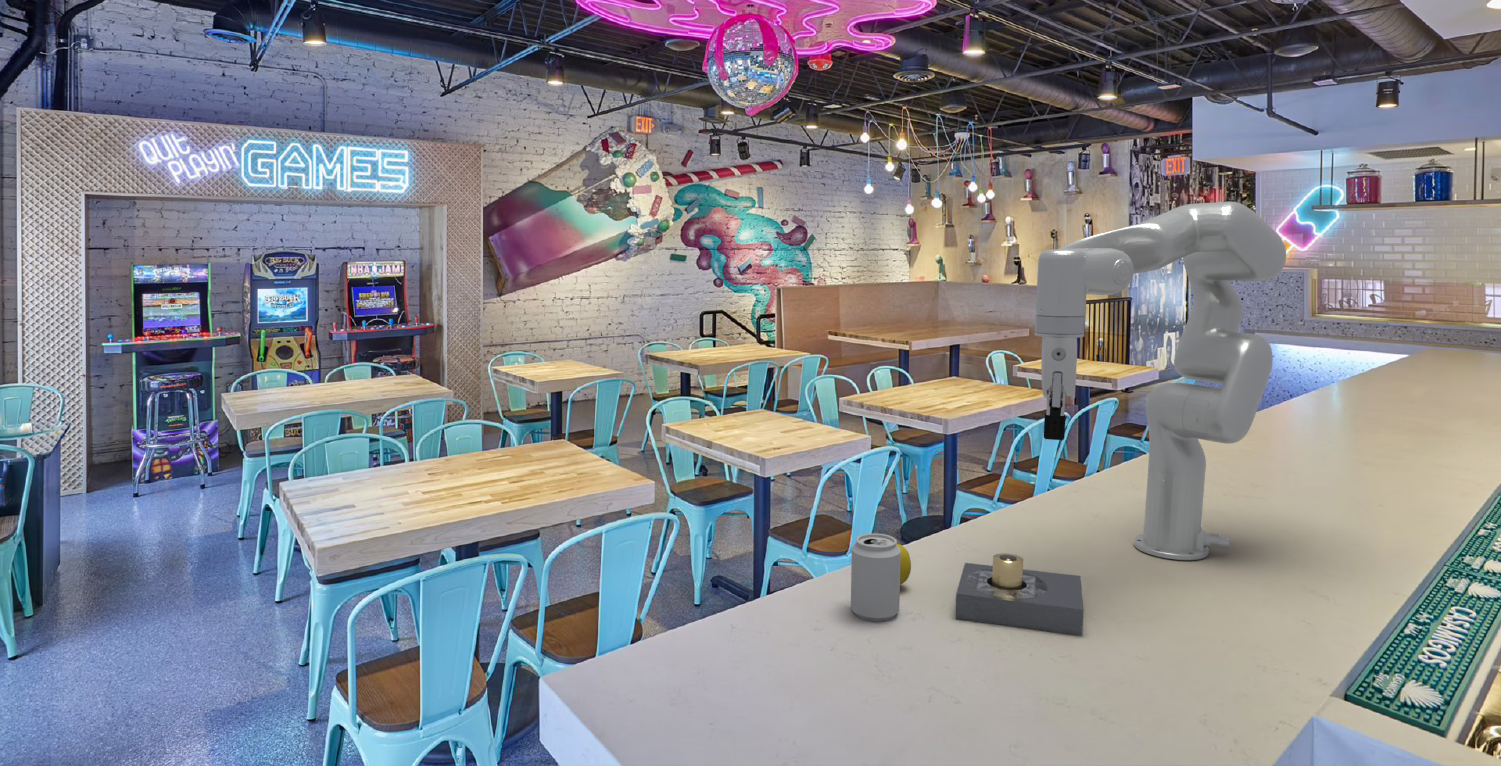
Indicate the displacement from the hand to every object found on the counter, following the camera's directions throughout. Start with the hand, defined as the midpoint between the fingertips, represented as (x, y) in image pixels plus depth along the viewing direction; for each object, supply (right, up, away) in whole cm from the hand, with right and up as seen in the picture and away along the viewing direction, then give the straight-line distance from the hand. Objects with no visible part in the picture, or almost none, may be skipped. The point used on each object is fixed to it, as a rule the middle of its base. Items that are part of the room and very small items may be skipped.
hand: (1053, 438), depth 138 cm
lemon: (-26, -25, +2) cm, 36 cm away
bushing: (-10, -26, -6) cm, 28 cm away
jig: (-8, -26, -6) cm, 28 cm away
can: (-31, -27, -8) cm, 41 cm away
